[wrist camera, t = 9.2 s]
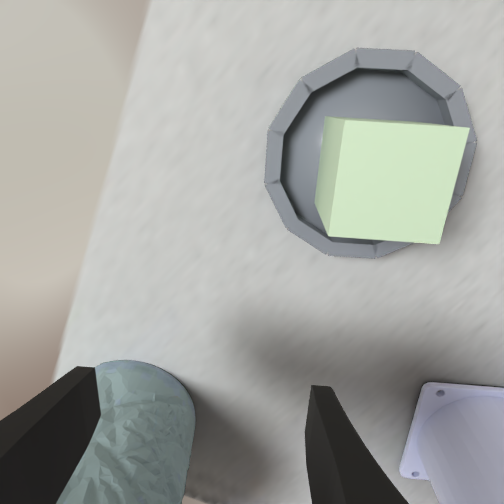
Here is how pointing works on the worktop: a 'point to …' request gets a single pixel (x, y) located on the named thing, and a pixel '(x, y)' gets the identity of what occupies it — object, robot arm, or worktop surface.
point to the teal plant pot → (136, 439)
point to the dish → (355, 106)
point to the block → (387, 178)
